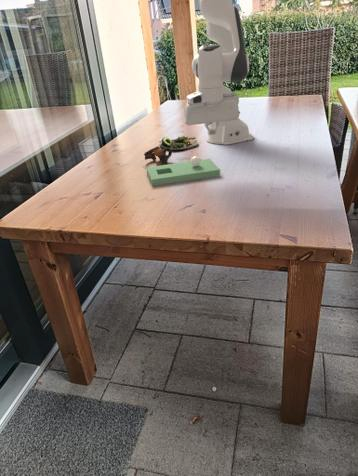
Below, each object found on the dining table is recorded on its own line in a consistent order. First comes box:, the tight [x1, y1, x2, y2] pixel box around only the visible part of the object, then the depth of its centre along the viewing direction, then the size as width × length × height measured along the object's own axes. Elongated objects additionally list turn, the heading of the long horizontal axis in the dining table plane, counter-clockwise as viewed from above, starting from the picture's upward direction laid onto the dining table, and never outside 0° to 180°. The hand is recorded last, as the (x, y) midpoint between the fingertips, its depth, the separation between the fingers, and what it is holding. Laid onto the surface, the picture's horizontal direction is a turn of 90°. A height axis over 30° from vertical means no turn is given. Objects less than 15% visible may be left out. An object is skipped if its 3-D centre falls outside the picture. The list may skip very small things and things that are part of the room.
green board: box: [146, 158, 221, 187], centre depth 146 cm, size 26×14×2 cm, turn 102°
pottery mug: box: [143, 146, 173, 166], centre depth 160 cm, size 12×10×8 cm
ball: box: [190, 155, 202, 167], centre depth 145 cm, size 4×4×4 cm
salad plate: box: [158, 135, 199, 153], centre depth 181 cm, size 19×18×5 cm
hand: (212, 134), depth 141 cm, fingers closed
